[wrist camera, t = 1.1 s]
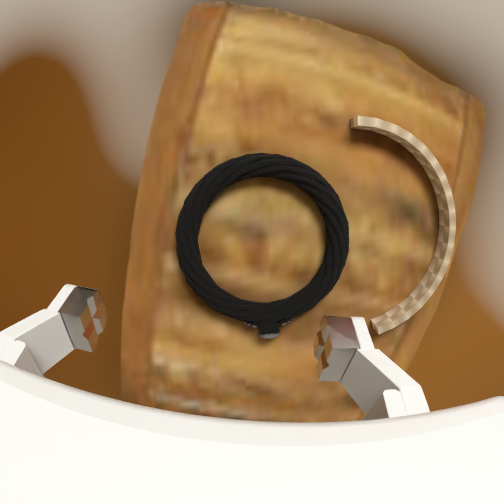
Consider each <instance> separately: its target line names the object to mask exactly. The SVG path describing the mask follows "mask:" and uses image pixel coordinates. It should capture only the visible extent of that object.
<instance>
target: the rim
mask: <svg viewBox="0 0 504 504" xmlns="http://www.w3.org/2000/svg"><path fill="white" fill-rule="evenodd" d="M350 124H351V128H354V129H364V130H370V131H373V132H376V133H380V134H383V135H385V136H387V137H389V138H391V139H393V140H395V141H396V142H398V143H399V144H401V145H402V146H403V147H404V148H406V149H407V150H408V151H409V152H411V153H412V155H413V156H414V157H415V158H416V159H417V160H418V161H419V163H420V164H421V165H422V167H423V168H424V170H425V172H426V173H427V175H428V177H429V179H430V181H431V184H432V186H433V189H434V191H435V194H436V199H437V204H438V209H439V234H438V242H437V246H436V249H435V253H434V256H433V259H432V261H431V264H430V266H429V268H428V270H427V272H426V274H425V275H424V277H423V279H422V280H421V282H420V283H419V285H418V286H417V287H416V288H415V289H414V291H413V292H412V293H411V294H410V295H409V296H408V297H407V298H406V299H405V300H403V301H402V302H401V303H400V304H399V305H397V306H396V307H394V308H393V309H391V310H390V311H388V312H386V313H385V314H382V315H380V316H378V317H375V318H373V319H371V323H372V326H373V328H374V329H375V330H376V332H377V333H378V334H381V333H384V332H386V331H388V330H390V329H393V328H395V327H396V326H398V325H399V324H401V323H403V322H404V321H406V320H407V319H409V318H410V317H411V316H412V315H413V314H415V313H416V312H417V311H418V310H419V309H420V308H421V307H422V306H423V305H424V304H425V303H426V302H427V300H428V299H429V298H430V297H431V296H432V294H433V293H434V291H435V290H436V288H437V287H438V285H439V283H440V282H441V280H442V278H443V276H444V274H445V271H446V269H447V267H448V264H449V261H450V258H451V254H452V250H453V246H454V239H455V230H456V218H455V206H454V201H453V196H452V192H451V189H450V186H449V183H448V180H447V178H446V175H445V173H444V172H443V170H442V168H441V166H440V164H439V163H438V161H437V159H436V158H435V157H434V156H433V154H432V153H431V152H430V151H429V150H428V148H427V147H426V146H425V145H424V144H423V143H422V142H421V141H419V140H418V139H417V138H416V137H415V136H413V135H412V134H411V133H409V132H408V131H406V130H404V129H402V128H401V127H399V126H397V125H395V124H393V123H390V122H387V121H384V120H381V119H378V118H371V117H363V116H356V117H354V118H352V119H350Z"/></svg>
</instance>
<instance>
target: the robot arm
mask: <svg viewBox="0 0 504 504" xmlns="http://www.w3.org/2000/svg"><path fill="white" fill-rule="evenodd" d="M102 300H103V296H102V292H101V291H99V290H95V289H91V288H86V287H81V286H75V285H70V284H67V285H64V287H63V288H62V289H61V291H60V292H59V293H58V295H57V296H56V297H55V299H54V300H53V301H52V303H51V304H50V306H49V307H48V308H47V310H45V309H43V310H41V311H39V312H37V313H35V314H33V315H31V316H29V317H28V318H26V319H24V320H22V321H20V322H18V323H16V324H15V325H12V326H11V327H9V328H7V329H5V330H3V331H1V332H0V504H504V397H503V396H497V397H493V398H489V399H486V400H483V401H479V402H475V403H471V404H467V405H462V406H458V407H453V408H448V409H443V410H438V411H433V412H430V411H429V408H428V405H427V402H426V399H425V396H424V394H423V391H422V388H421V386H420V385H419V384H418V383H417V382H416V381H414V380H413V379H412V378H411V377H410V376H409V375H407V374H406V373H405V372H404V371H403V370H402V369H401V368H399V367H398V366H397V365H396V364H395V363H394V362H392V361H391V360H390V359H389V358H388V357H387V356H386V355H384V354H383V353H382V352H381V351H380V350H379V349H374V346H373V343H372V340H371V337H370V334H369V331H368V328H367V326H366V323H365V320H364V318H363V317H339V316H323V317H322V319H321V322H320V328H321V330H319V331H318V332H317V333H316V337H315V341H314V356H315V358H316V359H317V360H318V363H317V365H316V369H317V376H318V381H340V383H341V384H342V385H343V387H344V388H345V389H346V390H347V392H348V393H349V394H350V395H351V397H352V398H353V399H354V400H355V402H356V403H357V404H358V405H359V407H360V408H361V409H362V410H363V412H364V413H365V414H366V416H365V417H364V418H363V420H360V421H344V422H311V423H298V422H264V421H248V420H236V419H225V418H216V417H207V416H199V415H192V414H185V413H179V412H173V411H167V410H162V409H156V408H151V407H146V406H142V405H137V404H132V403H128V402H124V401H119V400H116V399H112V398H108V397H104V396H100V395H97V394H93V393H90V392H86V391H83V390H80V389H76V388H73V387H70V386H67V385H64V384H61V383H58V382H55V381H52V380H49V379H47V378H45V377H44V376H43V373H44V372H46V371H47V370H48V369H49V368H51V367H52V366H53V365H54V364H55V363H57V362H58V361H60V360H61V359H62V358H63V357H65V356H66V355H67V354H68V353H70V352H71V351H72V350H74V348H76V349H81V350H85V351H90V352H93V350H94V348H95V346H96V344H97V342H98V340H99V339H98V334H99V333H101V332H103V330H104V328H105V325H106V321H107V312H106V308H105V307H104V305H103V304H102V303H101V302H102Z"/></svg>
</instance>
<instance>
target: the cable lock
mask: <svg viewBox="0 0 504 504" xmlns="http://www.w3.org/2000/svg"><path fill="white" fill-rule="evenodd" d="M253 177H274V178H277V179H281V180H284V181H288V182H291V183H293V184H295V185H296V186H298V187H299V188H300V189H302V190H303V191H304V192H306V193H307V194H308V195H309V196H310V197H311V198H312V199H313V200H314V201H315V202H316V204H317V206H318V208H319V210H320V212H321V214H322V216H323V218H324V220H325V223H326V231H327V239H328V244H327V248H326V252H325V257H324V261H323V264H322V265H321V267H320V269H319V271H318V272H317V274H316V275H315V276H314V278H313V279H312V280H311V282H310V283H309V284H308V285H307V286H305V287H304V288H303V289H301V290H300V291H298V292H297V293H295V294H294V295H292V296H290V297H288V298H285V299H282V300H278V301H274V302H270V303H261V302H252V301H246V300H241V299H239V298H236V297H234V296H233V295H231V294H229V293H228V292H226V291H225V290H223V289H221V288H220V287H218V286H217V285H216V283H215V282H214V281H213V279H212V278H211V276H210V275H209V274H208V272H207V271H206V269H205V268H204V266H203V265H202V260H201V255H200V250H199V245H198V234H199V229H200V225H201V221H202V217H203V214H204V213H205V211H206V210H207V208H208V207H209V205H210V204H211V203H212V201H213V200H214V198H215V197H216V196H217V195H218V194H219V193H220V192H221V191H223V190H224V189H225V188H227V187H229V186H231V185H232V184H234V183H236V182H239V181H242V180H244V179H248V178H253ZM175 234H176V243H177V255H178V260H179V265H180V268H181V270H182V271H183V273H184V275H185V277H186V280H187V282H188V283H189V285H190V286H191V287H192V289H193V290H194V292H195V293H196V294H197V295H198V296H199V297H200V298H201V299H202V300H204V301H205V302H206V303H207V305H208V306H210V307H211V308H213V309H214V310H216V311H217V312H219V313H220V314H223V315H226V316H229V317H232V318H235V319H237V320H240V321H243V323H244V324H246V323H247V325H249V326H250V325H251V327H257V323H259V333H258V334H259V336H260V337H263V338H275V337H277V336H278V335H280V330H279V325H278V322H281V325H285V324H287V323H286V322H288V323H289V322H290V321H291V320H293V319H294V317H297V316H299V315H301V314H302V313H304V312H306V311H308V310H310V309H312V308H313V307H314V306H315V305H316V304H317V303H318V302H319V301H320V300H322V299H323V298H324V297H325V296H326V295H327V294H328V293H329V292H330V291H331V290H332V289H333V287H334V286H335V284H336V283H337V281H338V280H339V278H340V275H341V272H342V270H343V268H344V266H345V263H346V259H347V255H348V252H349V228H348V221H347V218H346V215H345V213H344V210H343V207H342V204H341V201H340V199H339V196H338V195H337V193H336V192H335V191H334V189H333V188H332V187H331V185H330V184H329V183H328V182H327V181H326V180H325V179H324V178H323V177H322V176H321V175H320V174H319V173H318V172H317V171H315V170H314V169H312V168H311V167H309V166H308V165H306V164H303V163H301V162H299V161H297V160H295V159H293V158H290V157H287V156H283V155H279V154H266V153H256V154H246V155H243V156H240V157H238V158H234V159H230V160H228V161H226V162H224V163H222V164H219V165H217V166H216V167H215V168H213V169H212V170H211V171H210V172H208V173H207V174H206V175H205V176H204V177H203V178H202V179H201V180H200V181H199V182H198V183H197V184H196V185H195V186H194V187H193V189H192V190H191V192H190V193H189V195H188V196H187V198H186V199H185V201H184V205H183V208H182V210H181V212H180V214H179V217H178V222H177V228H176V233H175ZM290 319H291V320H290Z"/></svg>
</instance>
